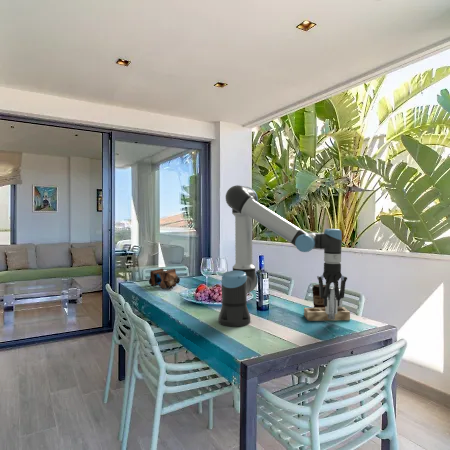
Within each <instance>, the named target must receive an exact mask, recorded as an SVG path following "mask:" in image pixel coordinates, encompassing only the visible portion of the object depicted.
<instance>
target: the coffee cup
mask: <svg viewBox="0 0 450 450" xmlns="http://www.w3.org/2000/svg"><path fill="white" fill-rule="evenodd" d="M325 285H326V284H323V294H324V291H325ZM312 286H313V287H311V290H312V301H313V302H312V303H313V308H325V307H326V306H324V299H323V298H321V297H320V294H319V284H313V285H312Z"/></svg>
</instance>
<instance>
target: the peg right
mask: <svg viewBox="0 0 450 450" xmlns="http://www.w3.org/2000/svg"><path fill="white" fill-rule="evenodd" d="M339 294H340V288H339ZM335 298H336V296H335ZM342 307H343V298H341V299H340V305H339V306H337V311H342Z"/></svg>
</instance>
